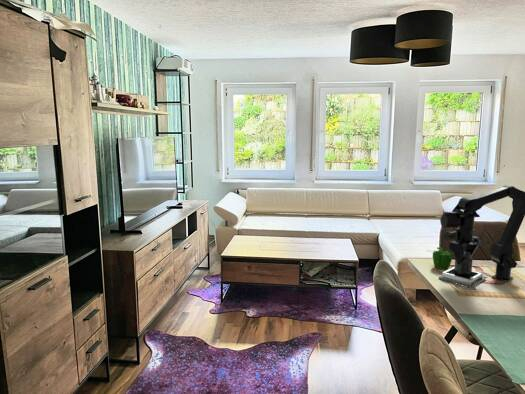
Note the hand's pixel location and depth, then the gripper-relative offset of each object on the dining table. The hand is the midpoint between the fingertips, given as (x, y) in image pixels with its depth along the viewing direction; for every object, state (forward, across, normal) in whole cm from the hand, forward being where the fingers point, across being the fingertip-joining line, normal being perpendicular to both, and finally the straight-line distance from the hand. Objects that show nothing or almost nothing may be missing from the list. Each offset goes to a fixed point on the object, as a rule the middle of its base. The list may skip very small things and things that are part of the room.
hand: (463, 261), depth 174 cm
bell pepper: (+8, -8, -13) cm, 17 cm away
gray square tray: (+8, 0, 0) cm, 8 cm away
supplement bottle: (+7, 0, 0) cm, 7 cm away
